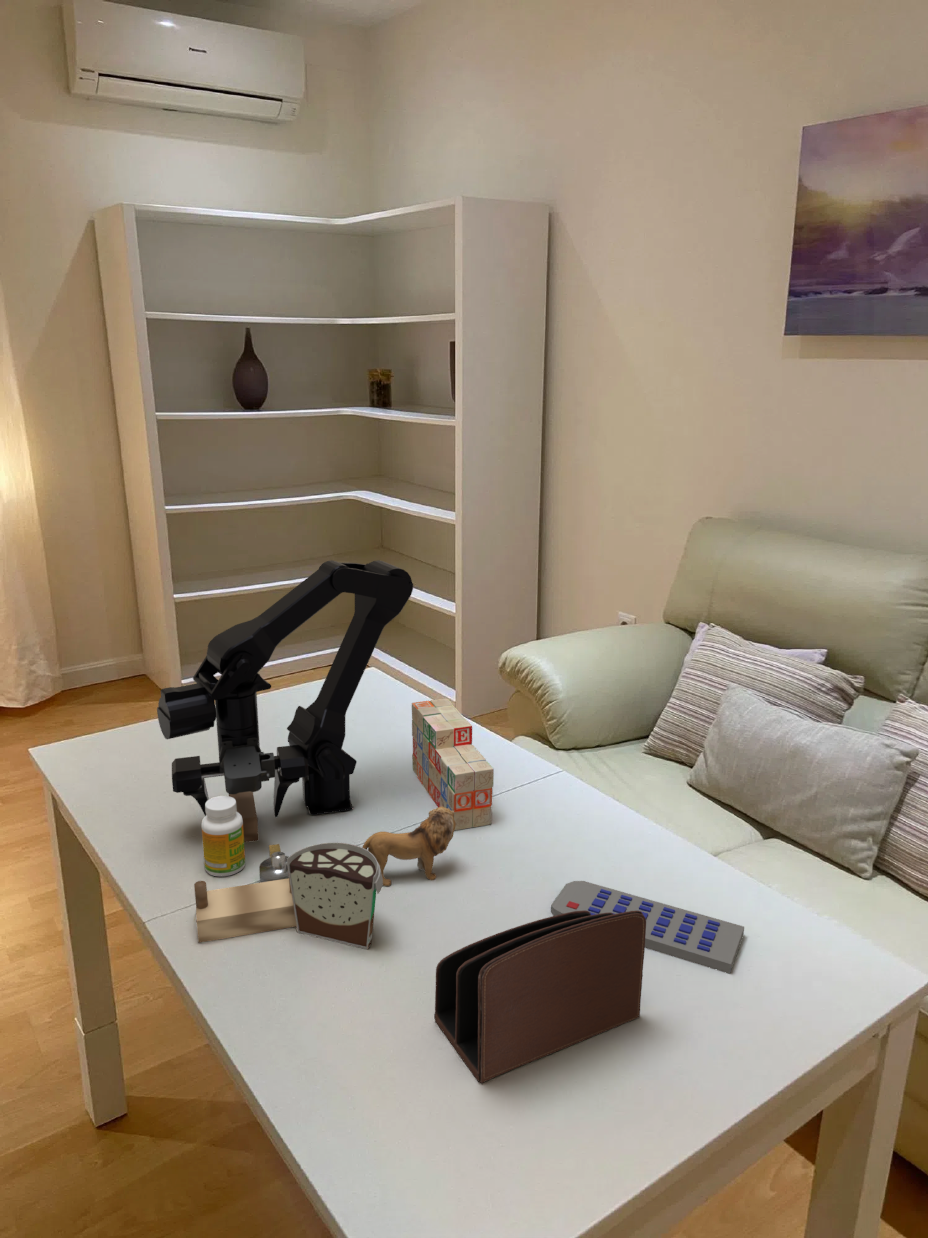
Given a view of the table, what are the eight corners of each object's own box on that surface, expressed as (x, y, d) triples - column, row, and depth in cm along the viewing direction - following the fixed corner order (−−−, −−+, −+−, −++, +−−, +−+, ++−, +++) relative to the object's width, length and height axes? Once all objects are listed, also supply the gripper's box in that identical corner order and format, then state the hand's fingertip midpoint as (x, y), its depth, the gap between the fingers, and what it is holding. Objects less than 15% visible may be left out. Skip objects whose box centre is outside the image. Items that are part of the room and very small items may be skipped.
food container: (400, 922, 113) (399, 851, 110) (379, 952, 107) (378, 878, 104) (310, 902, 117) (307, 832, 114) (286, 930, 111) (282, 858, 108)
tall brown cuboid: (254, 814, 138) (252, 790, 137) (258, 841, 131) (257, 816, 130) (230, 818, 137) (228, 794, 136) (233, 845, 130) (231, 820, 129)
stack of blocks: (492, 825, 136) (494, 750, 132) (452, 832, 134) (453, 755, 130) (447, 764, 155) (447, 696, 151) (411, 769, 153) (411, 701, 149)
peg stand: (298, 897, 118) (297, 856, 116) (305, 925, 112) (303, 882, 110) (197, 913, 114) (193, 871, 112) (198, 943, 109) (194, 899, 107)
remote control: (729, 979, 105) (731, 962, 104) (546, 920, 114) (547, 905, 114) (743, 940, 111) (745, 924, 111) (569, 887, 121) (570, 873, 121)
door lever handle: (292, 854, 127) (291, 830, 126) (300, 888, 120) (299, 862, 118) (256, 859, 126) (254, 835, 125) (261, 894, 118) (260, 868, 117)
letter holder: (641, 1019, 98) (651, 905, 94) (479, 1087, 89) (482, 964, 84) (586, 964, 106) (592, 858, 102) (433, 1021, 97) (433, 907, 93)
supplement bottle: (235, 880, 121) (230, 814, 118) (197, 875, 122) (192, 810, 119) (252, 858, 126) (248, 795, 123) (215, 853, 127) (211, 791, 124)
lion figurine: (447, 855, 128) (448, 797, 125) (461, 875, 123) (462, 815, 120) (345, 876, 123) (343, 816, 120) (355, 897, 118) (353, 836, 115)
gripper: (167, 754, 119) (177, 859, 124) (312, 738, 124) (315, 839, 129) (168, 720, 129) (176, 819, 134) (301, 707, 134) (305, 802, 139)
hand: (243, 820), depth 134 cm, fingers open, 9 cm apart
